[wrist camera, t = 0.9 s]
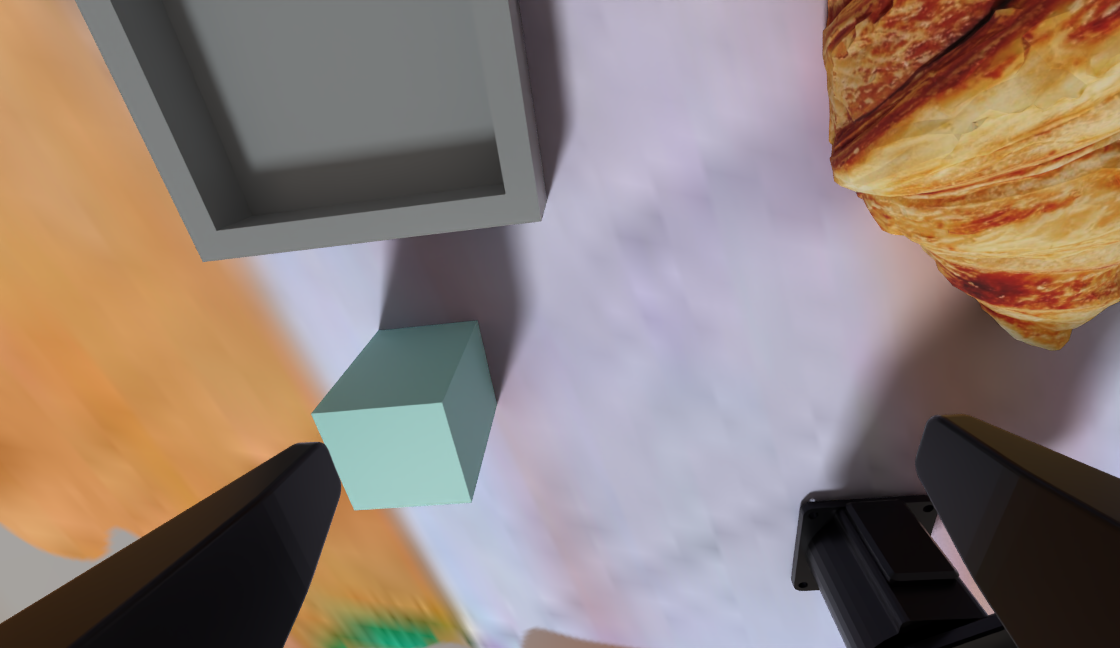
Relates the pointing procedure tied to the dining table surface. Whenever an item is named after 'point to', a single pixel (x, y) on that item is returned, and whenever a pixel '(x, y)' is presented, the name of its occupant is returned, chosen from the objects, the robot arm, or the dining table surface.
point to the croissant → (988, 146)
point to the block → (411, 417)
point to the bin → (328, 116)
